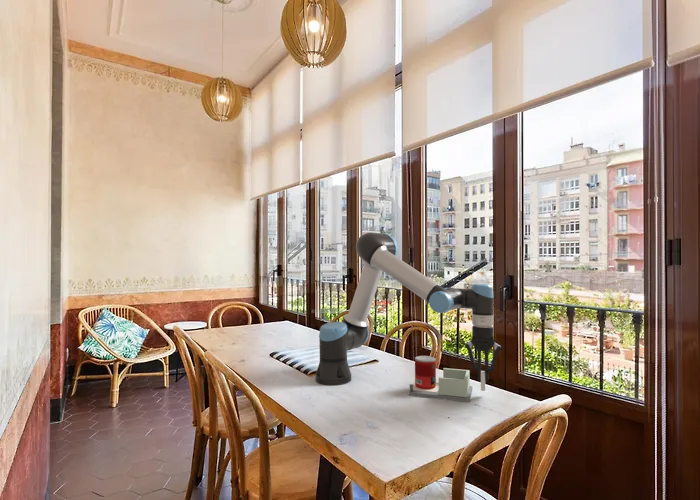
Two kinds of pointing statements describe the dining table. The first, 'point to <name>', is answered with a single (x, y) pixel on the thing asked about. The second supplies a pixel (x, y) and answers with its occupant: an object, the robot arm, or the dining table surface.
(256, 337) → the dining table surface
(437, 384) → the base
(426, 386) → the canned food
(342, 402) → the dining table surface
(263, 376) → the dining table surface
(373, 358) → the dining table surface
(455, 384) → the housing
